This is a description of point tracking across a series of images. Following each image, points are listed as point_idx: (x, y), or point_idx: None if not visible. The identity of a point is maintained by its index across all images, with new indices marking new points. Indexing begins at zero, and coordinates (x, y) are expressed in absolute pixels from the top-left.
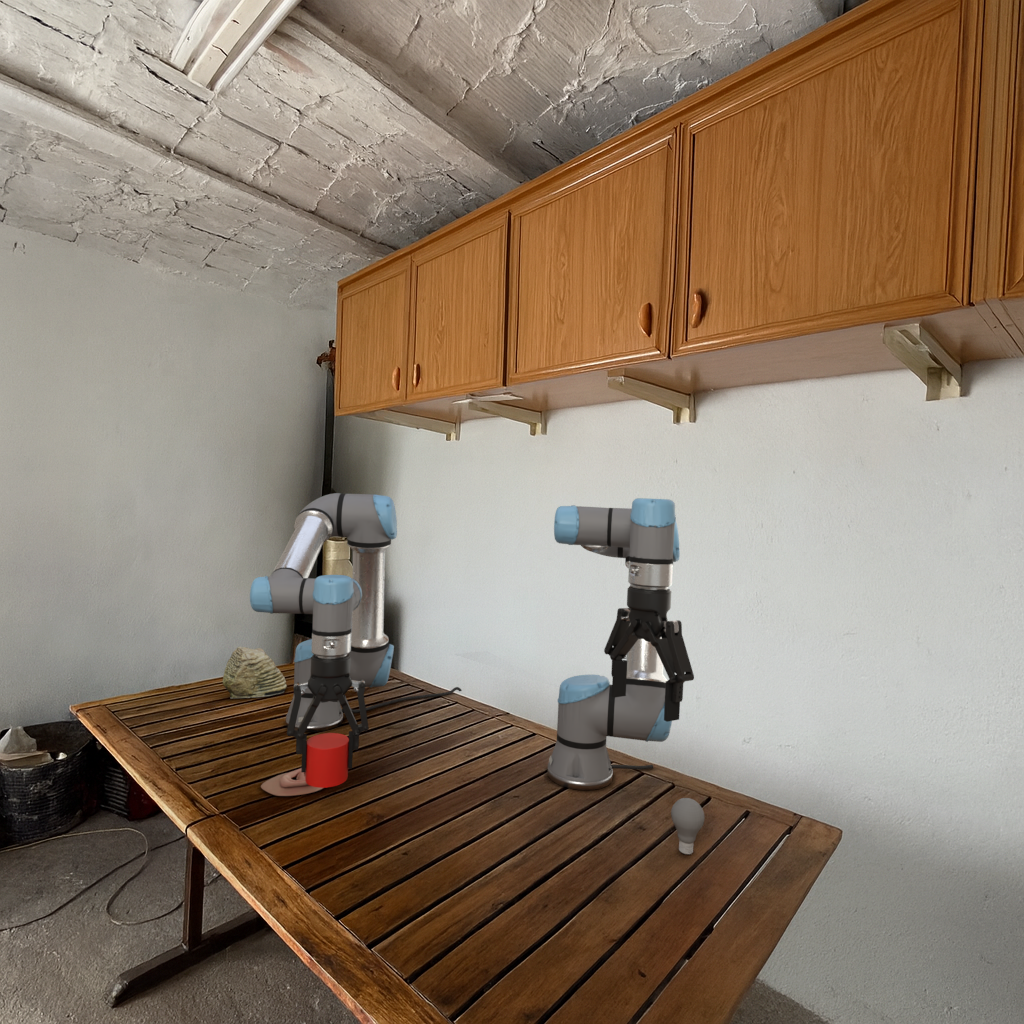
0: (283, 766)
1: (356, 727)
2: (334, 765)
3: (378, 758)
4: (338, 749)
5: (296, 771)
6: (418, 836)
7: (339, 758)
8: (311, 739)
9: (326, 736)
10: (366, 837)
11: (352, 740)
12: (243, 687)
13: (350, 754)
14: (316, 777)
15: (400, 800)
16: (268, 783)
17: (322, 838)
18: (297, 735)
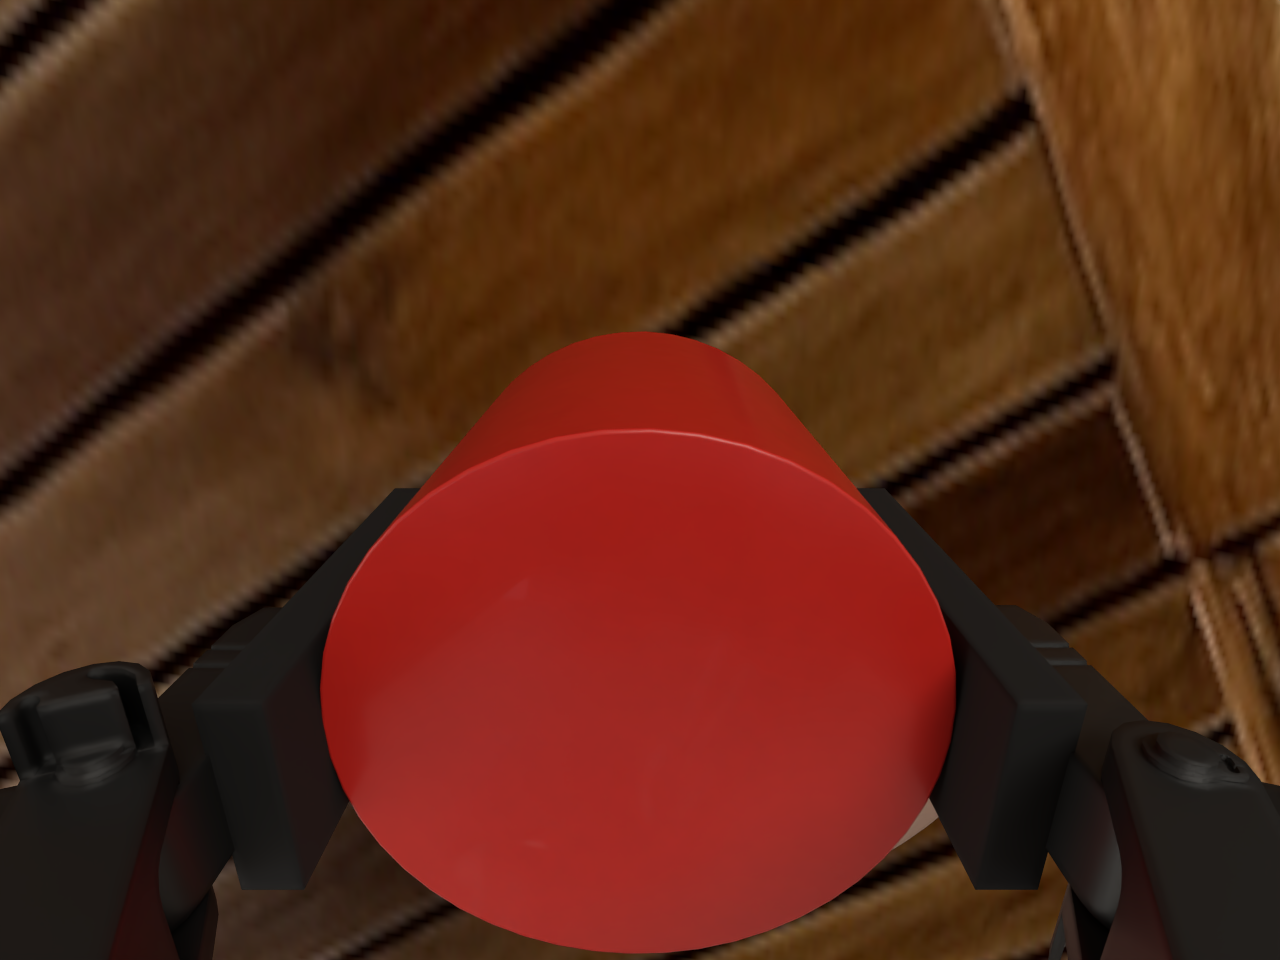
0: (834, 950)
1: (12, 842)
2: (557, 379)
3: (368, 955)
4: (474, 457)
5: None
6: (32, 20)
7: (487, 429)
8: (873, 803)
9: (658, 863)
10: (382, 90)
11: (247, 654)
12: None
13: (361, 550)
14: (744, 372)
15: (207, 515)
16: None
17: (658, 143)
18: (1233, 771)
